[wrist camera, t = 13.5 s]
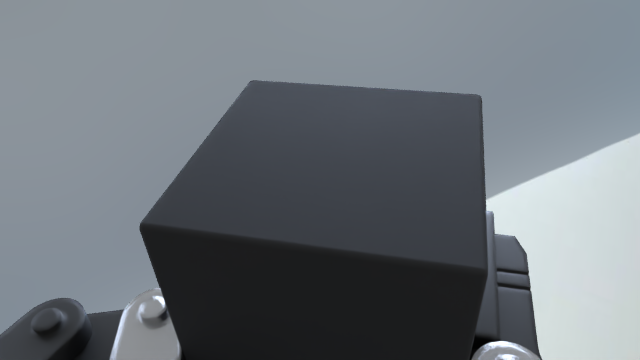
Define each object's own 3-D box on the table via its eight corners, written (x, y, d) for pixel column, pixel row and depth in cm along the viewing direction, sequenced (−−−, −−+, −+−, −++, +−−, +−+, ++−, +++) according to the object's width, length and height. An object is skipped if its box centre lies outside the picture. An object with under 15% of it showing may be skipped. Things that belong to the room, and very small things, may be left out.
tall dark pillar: (239, 520, 13) (135, 225, 7) (289, 362, 16) (250, 78, 10) (423, 568, 12) (489, 274, 6) (434, 389, 15) (482, 92, 9)
